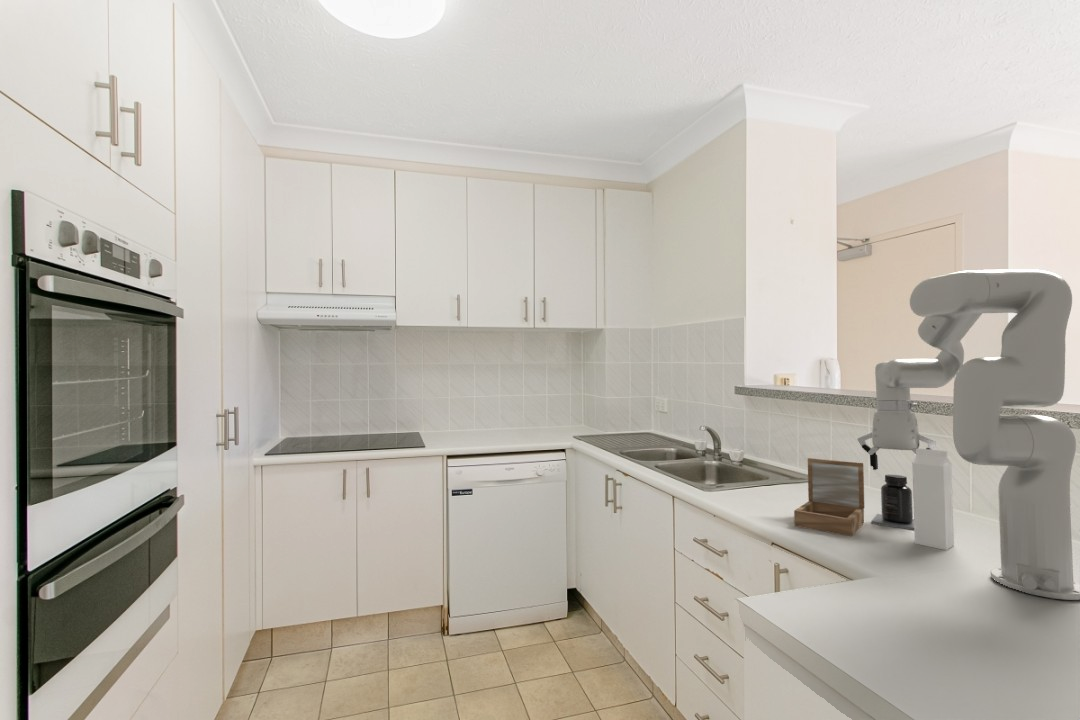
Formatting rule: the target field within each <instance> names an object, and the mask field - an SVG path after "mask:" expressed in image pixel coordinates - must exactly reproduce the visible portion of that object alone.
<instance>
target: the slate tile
mask: <svg viewBox="0 0 1080 720" xmlns="http://www.w3.org/2000/svg"><path fill="white" fill-rule="evenodd" d="M870 521H871V522H870V523H871V524H873V523H874V524H875V525H879V524H880V525H879V526H885V525H887V526H888V527H891V528H892V527H893V528H898V529H899V528H900V529H904V530H905V529H906V530H911V531H912V530H913V531H914V518H913V521H912V523H909V524H901V523H894V522H889V521H886V520H884V519H883V518H882V513H876V515H875V516H874V517H873V519H872V520H870ZM887 526H886V527H887Z"/></svg>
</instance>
